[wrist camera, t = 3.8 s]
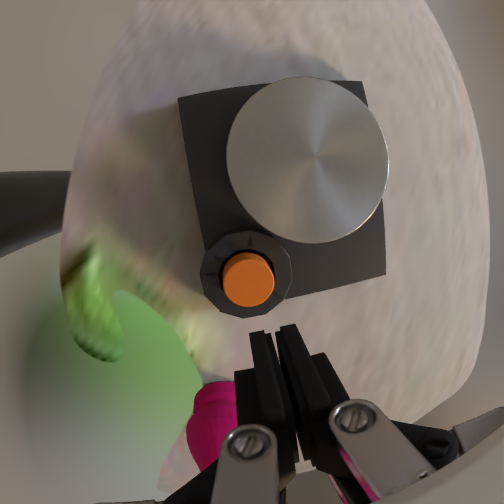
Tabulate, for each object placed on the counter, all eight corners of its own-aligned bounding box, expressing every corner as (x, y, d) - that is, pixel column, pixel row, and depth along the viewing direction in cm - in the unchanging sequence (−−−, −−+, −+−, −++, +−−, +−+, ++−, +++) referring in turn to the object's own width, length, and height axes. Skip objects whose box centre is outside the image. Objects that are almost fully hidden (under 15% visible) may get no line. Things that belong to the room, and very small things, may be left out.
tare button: (228, 300, 19) (228, 311, 18) (218, 257, 18) (218, 264, 17) (273, 291, 19) (277, 302, 18) (266, 247, 19) (270, 254, 17)
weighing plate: (243, 255, 18) (243, 258, 17) (213, 89, 15) (212, 85, 15) (390, 226, 19) (395, 228, 18) (367, 80, 16) (372, 77, 15)
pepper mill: (268, 379, 25) (319, 579, 5) (253, 425, 26) (282, 588, 7) (192, 371, 24) (178, 587, 4) (187, 419, 25) (180, 589, 6)
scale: (213, 306, 22) (212, 324, 19) (173, 104, 18) (165, 93, 15) (378, 270, 23) (396, 281, 20) (354, 85, 19) (371, 75, 16)
